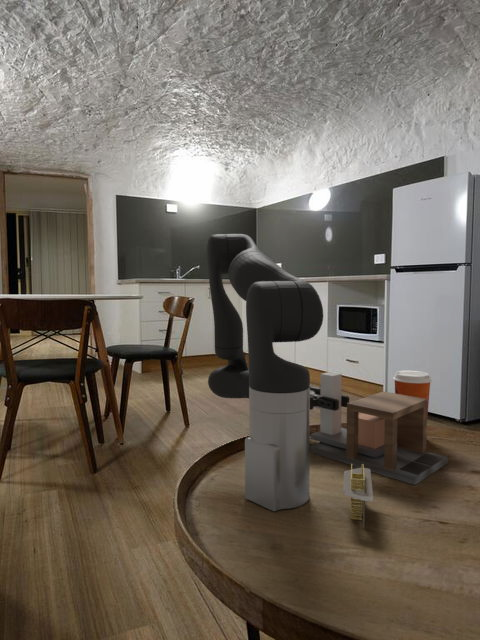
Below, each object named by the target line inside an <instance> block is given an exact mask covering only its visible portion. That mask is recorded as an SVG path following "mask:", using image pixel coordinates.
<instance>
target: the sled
mask: <svg viewBox="0 0 480 640" xmlns="http://www.w3.org/2000/svg"><path fill="white" fill-rule="evenodd" d="M342 376H343V375H342V373H339V372H338V373H337V372H331V371H327V372H323V373H320V385H321V392H320V396H321V398H322V397H323V396H324V397H329V398H334V399H338V400H339V409H338V410H336V411H334V410H329V409H325V408H320V411H319V412H320V415H319V418H320V419H319V420H320V422H319V423H320V425H319V427H320V429H319V430H318V431H316V432H313V433H311V434H310V440H313V441H317V442H318V443H319V442H323V443H326V444H330V445H333V446H337V447H340V448H344V449H346V445H347V428H344V427H342V406H341V395H342V382H343V381H342ZM384 436H385V418H382V417H377V416H373V415H368V414H364V413H359V417H358V453H361V454H364V455H368V456H371V457H375V458H376V457H378V456H380V455H382V454H384Z"/></svg>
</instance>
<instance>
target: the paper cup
mask: <svg viewBox="0 0 480 640" xmlns="http://www.w3.org/2000/svg"><path fill="white" fill-rule="evenodd" d="M392 379H393V380H394V393H395V394H401V395H406V396H412V397H418V398H424V399H427V417H428V414H429V405H430V404H429V403H430V391H431V382H433V381H434V380H433V379H432V376H431V375H430V373H429V372H425V371H420V370H408V369H407V370H398V371H395V374H394V376H393V378H392Z"/></svg>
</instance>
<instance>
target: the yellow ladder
mask: <svg viewBox="0 0 480 640" xmlns="http://www.w3.org/2000/svg"><path fill="white" fill-rule="evenodd" d="M350 467H351V468H350V469H348V470H345V471H343V487H342V488H343V490H342V494H344V496H345V497H350V520H359V521H362V525H363V527H365V526H366V524H365V523H366V520H365V518H366V517H365V516H366V502H373V501H374V494H373V493H374V492H373V481H372V473H371V472H372V471H370V469H368V468H364V464H361V468H359V467H356V468H353V465H352V464H351V465H350Z"/></svg>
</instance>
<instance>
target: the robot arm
mask: <svg viewBox="0 0 480 640" xmlns="http://www.w3.org/2000/svg"><path fill="white" fill-rule="evenodd" d="M206 263H207V274H208V275H207V276H208V282H209V290H210V291H209V292H210V299H211V306H212V312H213V313H212V314H213V324H214V325H213V326H214V328H213V329H214V331H213V332H214V333H213V334H214V353H215V356H216V357H217V358H219V359H221V360H227V365H224V366H222V367H218V368H216V369H214V370H212V371H211V373H210V374H209V376H208V379H207V384H208V388H209V389H210V391H211V392H212V393H213V394H214V395H216V396H217V397H219V398H225V399H247V400H248V401H249V403H248V404H249V406H248V409H249V410H248V412H249V414H248V417H249V420H248V421H249V422H248V423H249V425H248V426H249V428H248V429H249V435H248V436H247V437H245V439H244V474H245V475H244V491H245V493H244V497H245V499H246V500H249V501H251V502H253V503H255V504H257V505H260V506H261V507H264V508H266V509H268V510H269V511H272V512H278V511H279V510H284V509H287V510H288V509H293V508H298V507H301V506H303V505H304V504H306V503H307V502H308V500H309V499H310V446H311V445H310V442H311V441H310V440H311V434H310V432H311V431H310V428H311V427H310V421H311V419H310V416H311V415H310V410H314V409H317V410H318V409H320V408H325V409H329V410H334V411H336V410H338V409H339V400H338V399H334V398H329V397H324V396H323V397H322V398H321V396H320V392H321V384H320V385H319V387H318V386H313V385H312V384H311V383H310V382H311V381H310V380H311V378H310V377H311V376H310V372H309V369H308V368H307V367H305V366H304V365H302V364H299V363H295V362H292V361H289V360H286V359H284V358H282V357H280V356H279V355H277V354H276V352H275V350H274V345H273V344H274V343H293V342H294V343H295V342H296V343H297V342H303V341H308V340H311V339H313V338H314V337H315V336H316V335H317V334H318V333H319V331H320V330H321V328H322V325H323V321H324V309H323V307H324V306H323V304H322V303H323V302H322V301H321V297H320V295H319V293H318V292H317V290H316V288H315V287H314V286H313V285H312V284H311V283H310V282H308V281H306V280H304V279H301V278H299V277H297V276H295V275H293V274H291V273H289V272H287V270H285V269H284V268H282V267H281V266H280V265H278V264H277V263H276V262H275V261H274V260H273V259H272V258H271V257H269V256H268V255H266V254H265V253H263V252H262V250H261V249H260V248H259V247H258V246H257V243H256V242H255V240H254V239H253V238H251V236H249V235H248V234H244V233H226V234H225V233H223V234H222V233H217V234H211V235H210V236H209V237H208V239H207V245H206ZM226 274H227V275H228V280H229V283H230V284H231V286H232V288H233V290H234V291H235V292H236V294H237V295H238V296H239V297H240V298H241V299H242V300H244V301H245V320H246V334H247V348H248V349H247V352H248V353H247V354H248V358H246V356H245V355H246V354H245V352H244V326H243V325H244V324H243V321H242V318H241V316H240V314H239V312H238V310H237V309H236V307H235V306H234V304H233V302H232V301H231V299H230V297H229V296H228V294H227V292H226V290H225V288H224V287H225V286H224V283H223V275H226ZM247 359H248V363H247ZM349 402H350V396H349V395H345V394H344V395H343V394H341V408H342V407H343V408H347V403H349Z"/></svg>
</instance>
